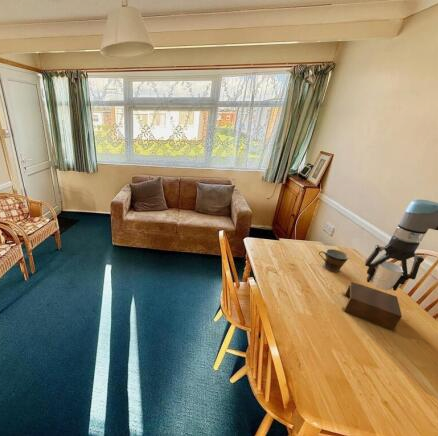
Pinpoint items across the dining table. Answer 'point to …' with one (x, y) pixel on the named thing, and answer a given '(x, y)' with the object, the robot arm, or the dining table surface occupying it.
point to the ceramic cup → (334, 259)
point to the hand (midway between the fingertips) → (380, 284)
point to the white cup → (386, 275)
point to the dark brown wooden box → (373, 305)
